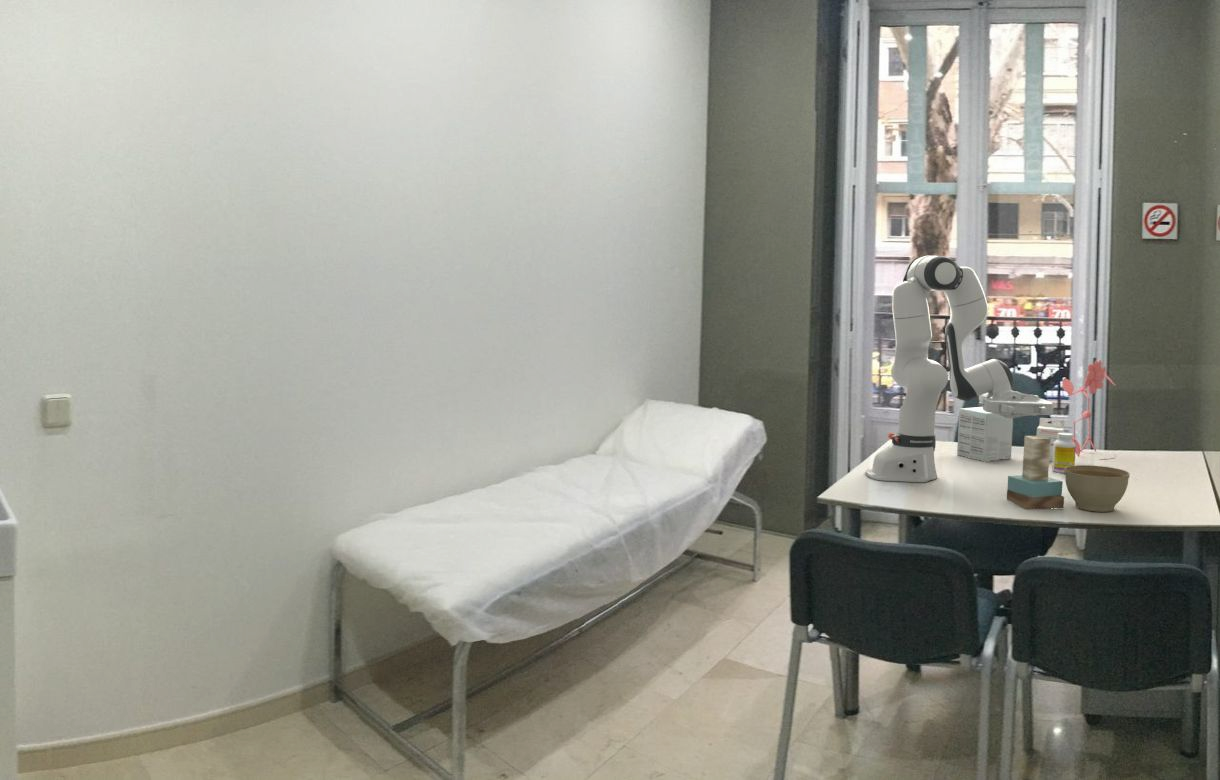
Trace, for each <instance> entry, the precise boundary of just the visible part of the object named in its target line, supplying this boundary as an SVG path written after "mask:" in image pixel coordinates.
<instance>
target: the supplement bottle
mask: <svg viewBox="0 0 1220 780" xmlns="http://www.w3.org/2000/svg"><path fill="white" fill-rule="evenodd" d="M1057 438H1058V440H1056V441H1055V442H1054V445H1053V461H1051V463H1052V464H1051V469H1052V471H1053V472H1054V473H1055V472H1056V473H1059V474H1065V472H1064V469H1065V468H1066V467H1068V466H1075V462H1076V453H1075V448H1076V444H1075V443H1074V442H1073V441H1072V439H1074V433H1070V432H1064V433H1058V434H1057Z"/></svg>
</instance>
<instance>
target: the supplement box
mask: <svg viewBox="0 0 1220 780" xmlns="http://www.w3.org/2000/svg"><path fill="white" fill-rule="evenodd" d="M1013 427H1014V418H1012V419H1009V418H1005V417H1002V416H1000V415H997V414H994V413H991V412H986V411H984V410H983V406H977V407H974V406H973V407H965V408H964V407H962V408H959V411H958V430H957V446H956V447H957V449H956V455H957V456H959V455H961V456H960V457H963V456H965V457H964V458H967V457H969V458H968V459H971V458H973V459H972V460H975V459H977V460H976V461H979V460H981V461H980V462H983V461H986V462H991V461H990V460H994V461H1000V460H999V459H1003V460H1008V458H1011V459H1012V446H1013V445H1012V444H1013V430H1014V428H1013Z"/></svg>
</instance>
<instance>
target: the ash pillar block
mask: <svg viewBox="0 0 1220 780" xmlns="http://www.w3.org/2000/svg"><path fill="white" fill-rule="evenodd" d="M1050 441H1051V439H1050V438H1047V437H1044V436H1037V435H1024V442H1023V456H1022V458H1023V459H1022V460H1023V461H1022V473H1021V475H1022V477H1024V478H1026V479H1028V480H1033V481H1048V477H1049V472H1050V469H1049V468H1050V461H1049V457H1050Z"/></svg>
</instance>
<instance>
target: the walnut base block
mask: <svg viewBox="0 0 1220 780" xmlns="http://www.w3.org/2000/svg"><path fill="white" fill-rule="evenodd" d="M1006 501H1009V502H1010V503H1012V504H1014V505H1016V506H1017V507H1019V508H1021V509H1023V510H1055V509H1054V508H1065V507H1064V505H1065V496H1063V495H1057V496H1046V497H1034V498H1032V497H1029V496H1026V495H1023V494H1020V493H1017V492H1013V491H1010V490H1006ZM1051 508H1053V509H1051Z"/></svg>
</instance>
